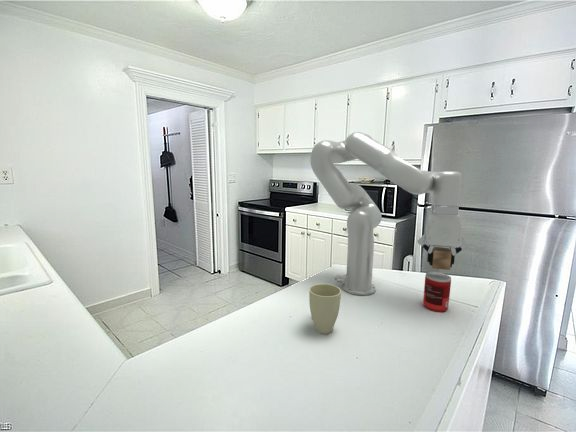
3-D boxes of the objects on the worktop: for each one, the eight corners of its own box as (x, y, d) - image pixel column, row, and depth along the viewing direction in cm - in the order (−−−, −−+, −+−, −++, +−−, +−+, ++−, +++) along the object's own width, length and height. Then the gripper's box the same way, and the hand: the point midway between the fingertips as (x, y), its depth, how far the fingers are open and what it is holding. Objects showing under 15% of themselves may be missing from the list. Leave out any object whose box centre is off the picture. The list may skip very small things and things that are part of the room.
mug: (347, 327, 85) (349, 288, 83) (327, 342, 78) (328, 299, 76) (317, 314, 92) (318, 278, 90) (296, 326, 85) (297, 287, 83)
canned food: (442, 302, 102) (445, 272, 100) (452, 313, 94) (456, 280, 92) (419, 300, 102) (421, 271, 101) (427, 311, 95) (430, 279, 93)
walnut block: (432, 268, 94) (434, 250, 93) (430, 263, 99) (432, 246, 98) (449, 270, 93) (451, 251, 92) (447, 265, 97) (448, 247, 96)
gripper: (416, 210, 92) (412, 265, 95) (479, 213, 87) (472, 272, 89) (415, 207, 99) (411, 259, 102) (472, 210, 94) (466, 264, 96)
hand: (440, 264), depth 96 cm, fingers closed on walnut block, 4 cm apart
